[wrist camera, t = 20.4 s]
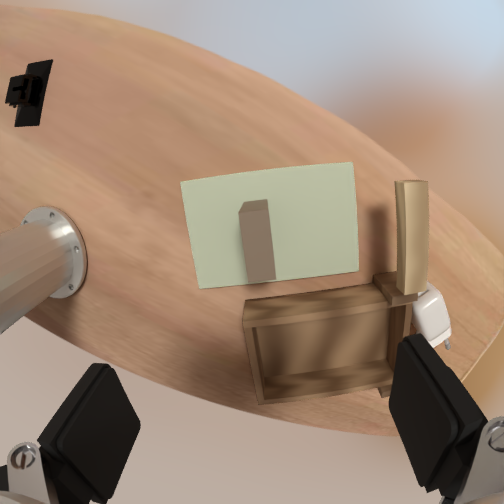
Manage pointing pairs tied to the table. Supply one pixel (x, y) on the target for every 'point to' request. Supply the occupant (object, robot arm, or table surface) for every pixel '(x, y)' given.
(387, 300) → the brown wooden open box
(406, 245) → the tan rectangular block
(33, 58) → the table surface
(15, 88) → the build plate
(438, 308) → the power adapter
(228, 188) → the lid
